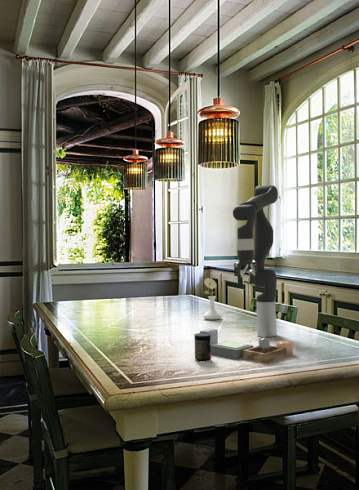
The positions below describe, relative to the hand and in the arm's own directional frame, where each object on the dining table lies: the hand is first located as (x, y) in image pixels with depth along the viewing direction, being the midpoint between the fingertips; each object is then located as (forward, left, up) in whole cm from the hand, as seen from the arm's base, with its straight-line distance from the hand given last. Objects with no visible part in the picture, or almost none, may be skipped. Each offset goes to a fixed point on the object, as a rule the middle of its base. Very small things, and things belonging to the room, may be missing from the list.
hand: (246, 284), depth 229 cm
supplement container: (+31, +1, -28) cm, 42 cm away
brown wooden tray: (+12, +18, -28) cm, 35 cm away
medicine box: (+15, -10, -28) cm, 34 cm away
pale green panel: (+16, +4, -25) cm, 30 cm away
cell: (+12, +18, -27) cm, 35 cm away
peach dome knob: (+2, +21, -28) cm, 35 cm away
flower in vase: (-47, -63, -28) cm, 84 cm away
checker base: (+16, +4, -28) cm, 33 cm away
